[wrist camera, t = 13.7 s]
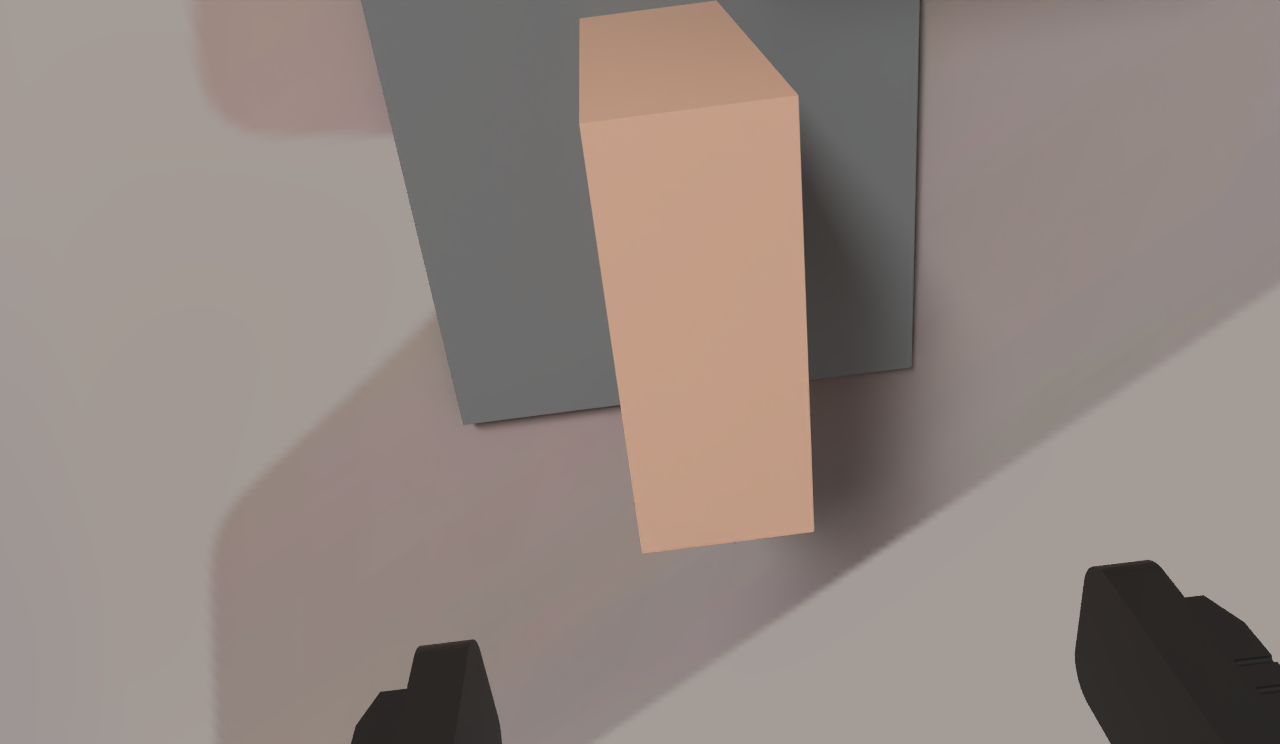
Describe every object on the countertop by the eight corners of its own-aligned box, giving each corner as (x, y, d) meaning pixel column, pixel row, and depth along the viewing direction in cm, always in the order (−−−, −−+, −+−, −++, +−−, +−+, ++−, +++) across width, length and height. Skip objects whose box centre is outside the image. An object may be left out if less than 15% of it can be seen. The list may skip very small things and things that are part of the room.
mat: (917, -142, 27) (922, -142, 27) (907, 360, 35) (911, 367, 34) (349, -67, 27) (345, -65, 27) (464, 417, 35) (463, 424, 34)
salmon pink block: (716, 0, 28) (798, 95, 18) (739, 311, 33) (814, 531, 22) (579, 18, 28) (579, 123, 18) (622, 326, 33) (642, 553, 22)
